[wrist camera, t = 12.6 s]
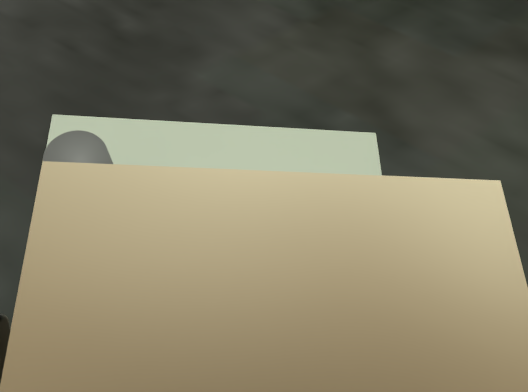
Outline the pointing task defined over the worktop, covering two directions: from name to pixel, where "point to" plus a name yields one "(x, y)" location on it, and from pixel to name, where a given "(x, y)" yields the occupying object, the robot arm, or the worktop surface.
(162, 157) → the seat plate
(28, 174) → the worktop surface
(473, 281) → the pine post
